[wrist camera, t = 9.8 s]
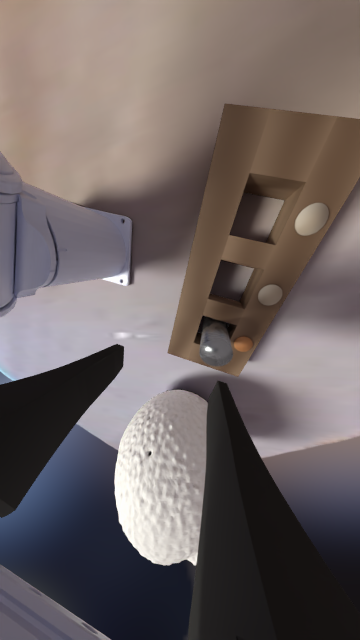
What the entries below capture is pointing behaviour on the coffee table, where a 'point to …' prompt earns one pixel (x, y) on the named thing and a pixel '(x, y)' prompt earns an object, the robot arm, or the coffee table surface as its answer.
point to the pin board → (290, 226)
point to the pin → (215, 343)
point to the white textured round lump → (163, 477)
